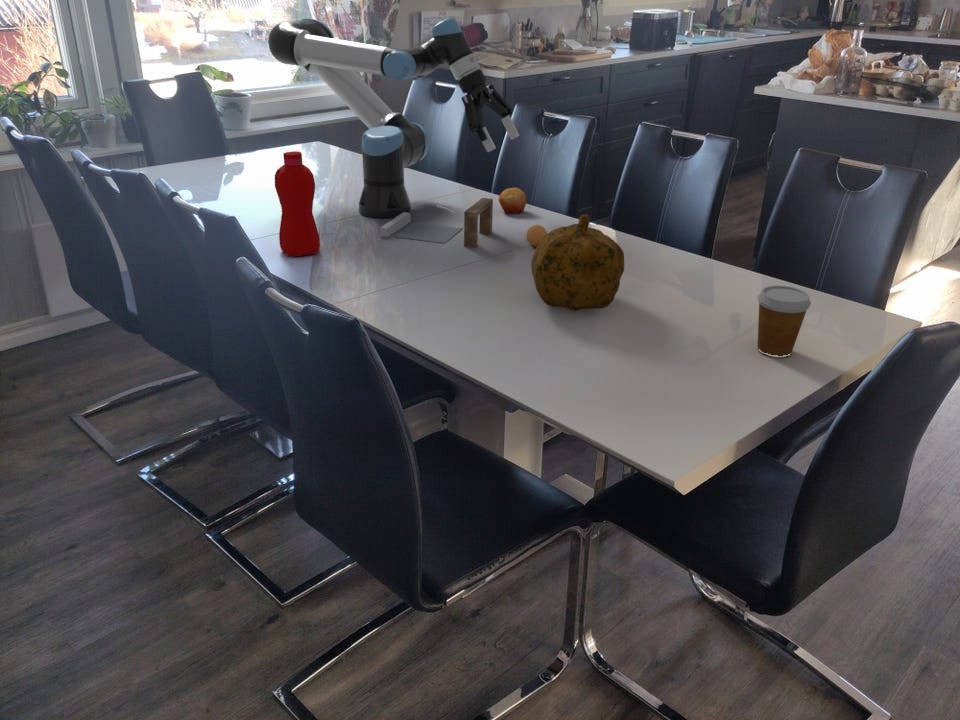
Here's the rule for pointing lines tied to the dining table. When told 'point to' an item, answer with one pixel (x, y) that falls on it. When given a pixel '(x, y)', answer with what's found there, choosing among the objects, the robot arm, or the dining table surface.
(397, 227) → the wall
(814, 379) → the dining table surface
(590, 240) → the decorative pumpkin
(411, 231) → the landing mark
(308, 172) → the water bottle
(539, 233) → the ball
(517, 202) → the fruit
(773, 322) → the disposable coffee cup
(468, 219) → the bridge
